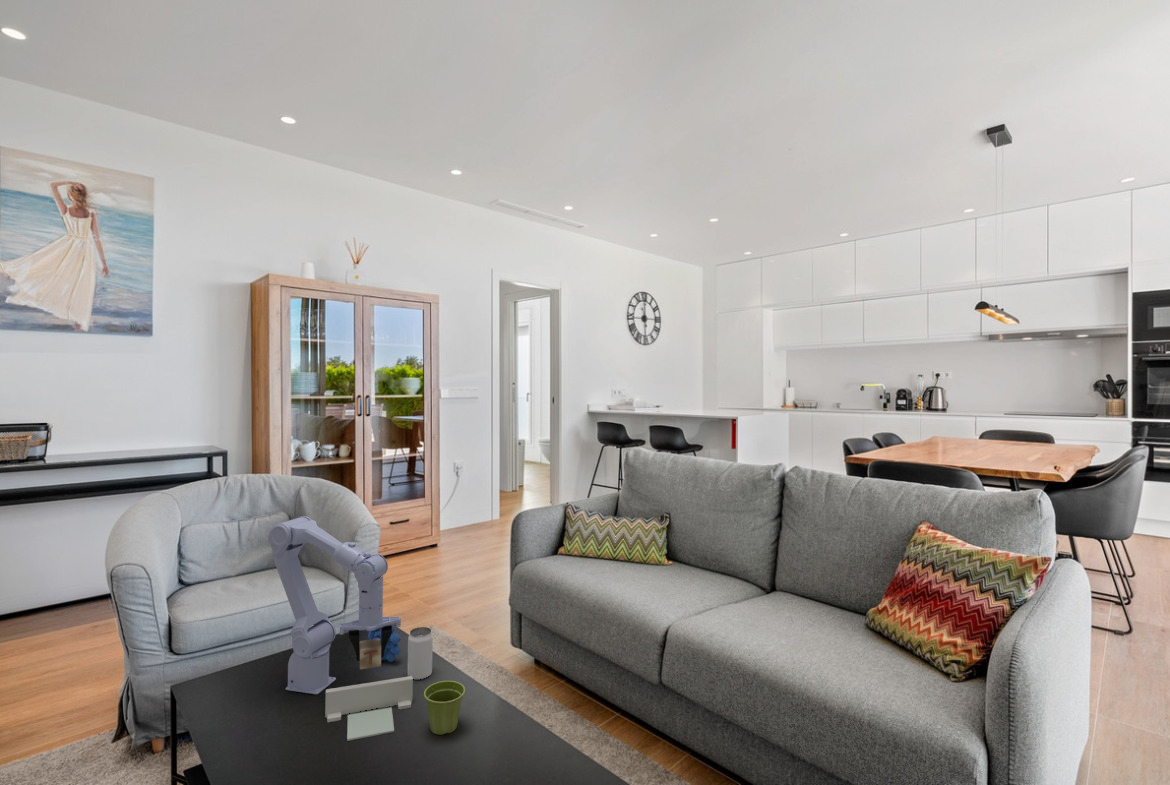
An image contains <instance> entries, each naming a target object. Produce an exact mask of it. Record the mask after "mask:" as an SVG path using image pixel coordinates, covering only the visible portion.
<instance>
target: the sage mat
mask: <svg viewBox="0 0 1170 785" xmlns="http://www.w3.org/2000/svg"><path fill="white" fill-rule="evenodd" d="M392 707H393V706H390V707H384V708H378V709H373V710H367V711H361V712H355V713H350V714H347V729H346V730H347V735H346V739H347V740H346V741H347V742H348V741H354V740H358V739H364V738H365V739H366V738H370V737H374V736H379V735H384V734H385V735H387V734H391V733H394V732H395V726H394V717H393V708H392Z"/></svg>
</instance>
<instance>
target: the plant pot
mask: <svg viewBox="0 0 1170 785" xmlns="http://www.w3.org/2000/svg"><path fill="white" fill-rule="evenodd" d="M465 693H466V687H465V686H464V684H462V683H460V682H458V681H455V680H441V681H437V682H434V683H431V684H430V685H428V686H427V687H426V688H425V689H424V692H423V696H424V699H425V700H426V704H427V711H428V720H429V727H430V731H431V732H432V733H433V734H435V735H444V734H452V732H454V731H455V730H456V729H457V727H458V723H459V716H460V710H461V706H462V705H461V703H462V700H463V698H464V695H465Z"/></svg>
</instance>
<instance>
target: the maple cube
mask: <svg viewBox="0 0 1170 785" xmlns="http://www.w3.org/2000/svg"><path fill="white" fill-rule="evenodd" d="M359 649H360V661H359V670H365V669H373V668H378V667H379V668H380V667H382V660H381V640H380V639H372V640H370V639H365V640H359Z"/></svg>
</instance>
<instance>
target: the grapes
mask: <svg viewBox="0 0 1170 785" xmlns="http://www.w3.org/2000/svg"><path fill="white" fill-rule="evenodd" d="M367 634H368V635H367V637H368V640H372V639H380V640H381V628H379V629H375V630H371V631H368V633H367ZM400 637H401V636H400V635H399V634H398V633H396V632H395V626H394V627H392V634H391V636H390V638H389V640H388V642H387V645H386V648H385V651H384V657H381V661H383V660H384V661H386V660H387V661H388V662H390V663H393V662H394V661H395V660H396V656H399V655H400V653H401V647H400V646H399V643H400V640H401V638H400Z"/></svg>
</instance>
